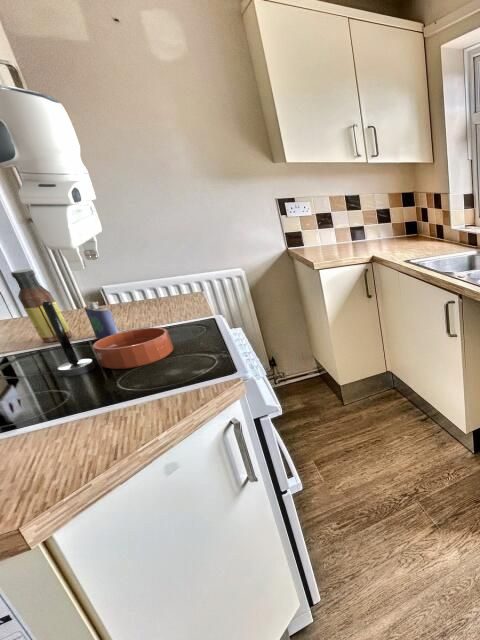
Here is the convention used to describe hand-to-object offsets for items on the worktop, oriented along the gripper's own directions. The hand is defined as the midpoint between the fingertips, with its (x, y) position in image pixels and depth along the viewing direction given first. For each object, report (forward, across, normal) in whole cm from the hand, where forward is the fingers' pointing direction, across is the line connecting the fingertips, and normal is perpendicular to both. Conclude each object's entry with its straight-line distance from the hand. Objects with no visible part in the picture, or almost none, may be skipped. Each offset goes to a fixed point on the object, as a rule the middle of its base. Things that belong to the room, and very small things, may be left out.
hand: (86, 264), depth 83 cm
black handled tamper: (+28, -16, -12) cm, 35 cm away
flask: (+30, -40, -11) cm, 51 cm away
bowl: (+28, -17, -1) cm, 33 cm away
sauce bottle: (+31, -47, -24) cm, 61 cm away
